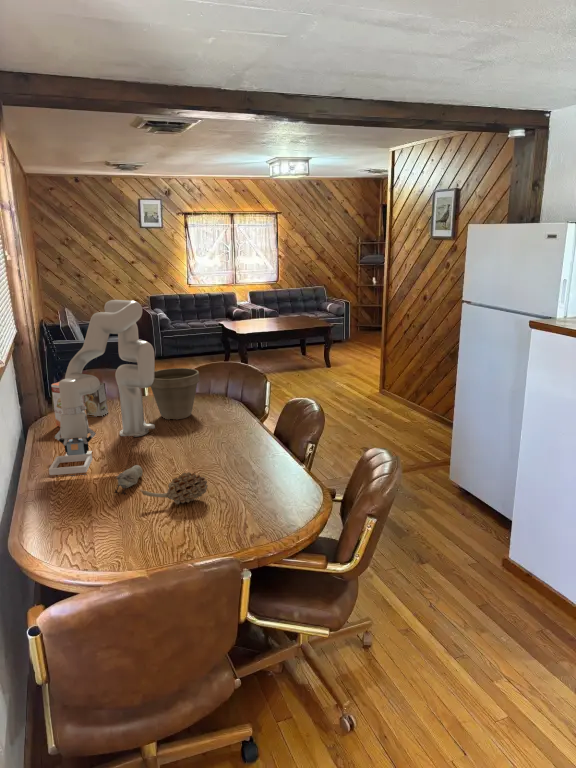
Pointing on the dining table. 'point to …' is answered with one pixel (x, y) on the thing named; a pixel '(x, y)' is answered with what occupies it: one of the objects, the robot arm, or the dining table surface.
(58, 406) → the cracker box
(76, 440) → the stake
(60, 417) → the robot arm
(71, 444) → the collar
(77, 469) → the tray
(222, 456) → the dining table surface
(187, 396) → the plant pot
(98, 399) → the coffee box
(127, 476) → the decorative bird
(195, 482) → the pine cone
